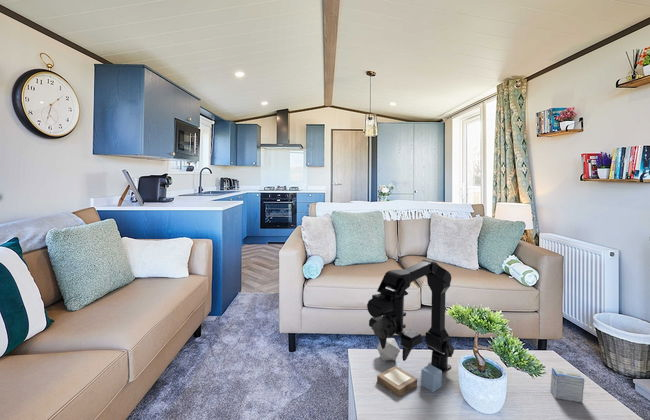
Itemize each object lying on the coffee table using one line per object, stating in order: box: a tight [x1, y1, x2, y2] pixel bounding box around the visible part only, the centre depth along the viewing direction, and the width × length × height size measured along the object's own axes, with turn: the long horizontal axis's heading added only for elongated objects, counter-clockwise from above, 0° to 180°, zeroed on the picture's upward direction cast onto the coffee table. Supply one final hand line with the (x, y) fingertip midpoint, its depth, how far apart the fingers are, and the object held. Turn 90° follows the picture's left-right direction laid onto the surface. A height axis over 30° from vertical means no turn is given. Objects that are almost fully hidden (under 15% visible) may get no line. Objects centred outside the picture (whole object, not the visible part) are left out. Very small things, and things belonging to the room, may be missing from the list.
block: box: [420, 364, 443, 393], centre depth 112 cm, size 5×5×6 cm
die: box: [376, 337, 401, 362], centre depth 129 cm, size 8×9×10 cm
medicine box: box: [550, 367, 585, 404], centre depth 107 cm, size 8×4×9 cm, turn 73°
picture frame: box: [376, 365, 418, 398], centre depth 113 cm, size 10×10×3 cm
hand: (393, 354), depth 106 cm, fingers open, 9 cm apart
